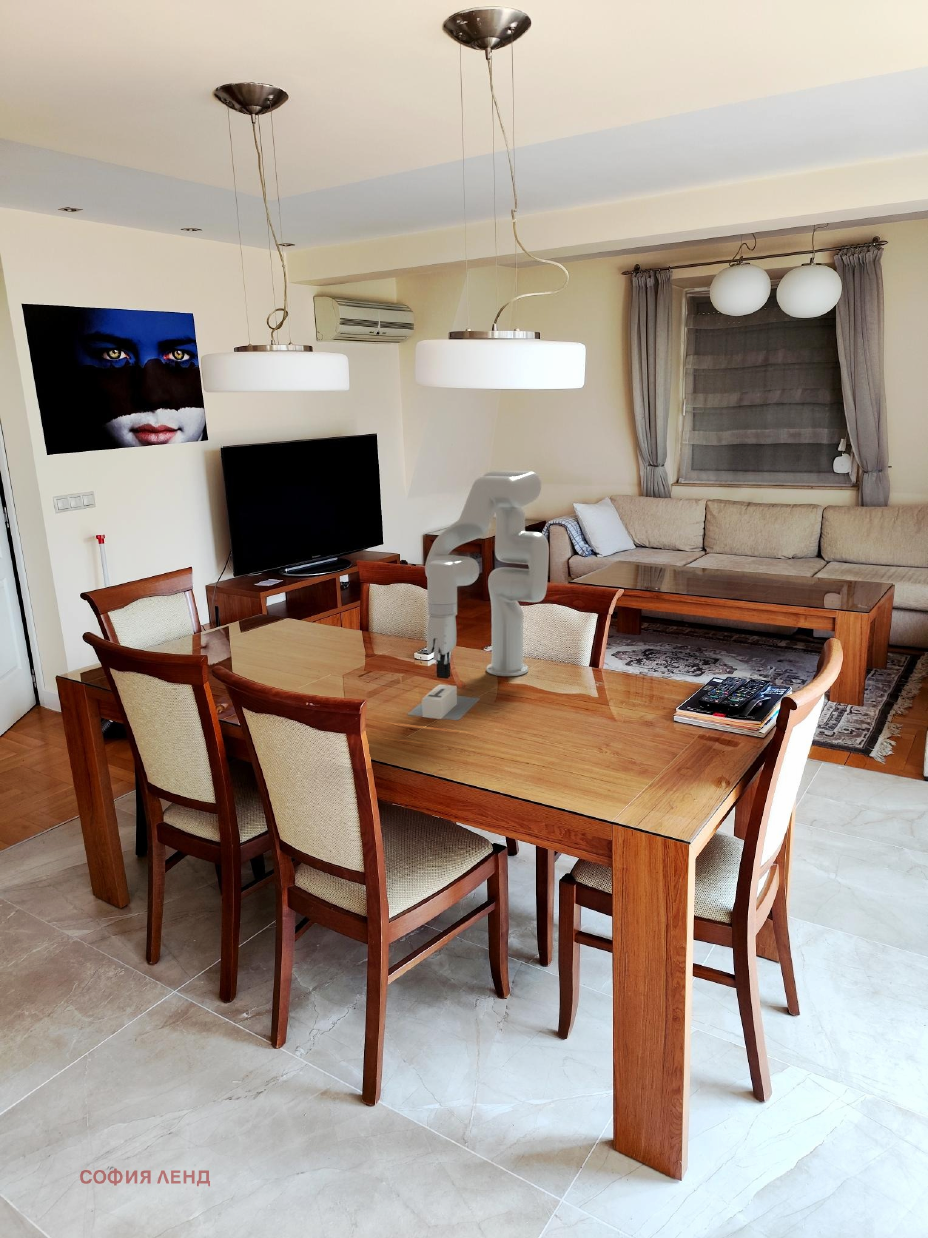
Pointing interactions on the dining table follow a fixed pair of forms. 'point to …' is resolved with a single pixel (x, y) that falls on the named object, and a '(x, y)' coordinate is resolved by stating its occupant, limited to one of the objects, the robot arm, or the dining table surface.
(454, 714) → the mat
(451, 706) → the letter block
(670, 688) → the dining table surface
